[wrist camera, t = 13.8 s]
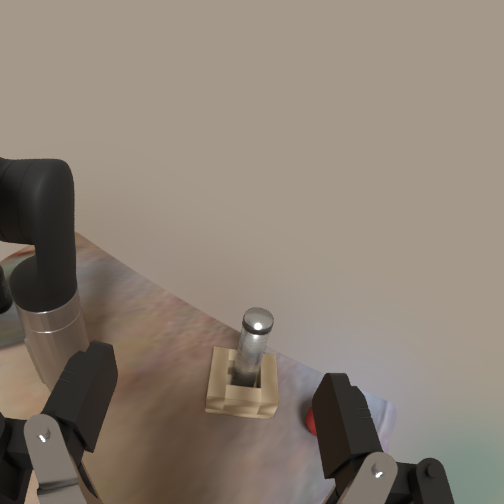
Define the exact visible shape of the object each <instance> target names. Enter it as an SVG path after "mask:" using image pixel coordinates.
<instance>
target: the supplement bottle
mask: <svg viewBox="0 0 504 504" xmlns="http://www.w3.org/2000/svg"><path fill="white" fill-rule="evenodd" d="M10 305H11V298H10V295H9V291H8V288H7V284H6V280H5V276H4V272H3V269H2V267H1V265H0V314H2V313H4V312H6V311H7V310H8V309H9V307H10Z"/></svg>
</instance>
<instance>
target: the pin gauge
mask: <svg viewBox="0 0 504 504" xmlns="http://www.w3.org/2000/svg"><path fill="white" fill-rule="evenodd" d="M273 319H274V318H273V315H272V314H271V313H270V312H269V311H267V310H265V309H263V308H250V309H248V310H247V311H246V312H245V314H244V318H243V322H242V325H243V326H242V331H241V335H240V340H239V345H238V349H237V354H236V359H235V363H234V368H233V373H232V377H231V382H230V385H234V386H242V387H251V388H253V387H254V383H255V380H256V377H257V374H258V370H259V367H260V364H261V361H262V357H263V354H264V351H265V347H266V343H267V340H268V337H269V333H270V331H271V329H272V326H273Z"/></svg>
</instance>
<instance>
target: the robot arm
mask: <svg viewBox="0 0 504 504" xmlns="http://www.w3.org/2000/svg"><path fill="white" fill-rule="evenodd" d="M0 241H3V242H8V243H18V244H28V245H34V246H35V252H36V255H34V256H32V257H29V258H27V259H26V260H24V261H22V262H21V263H20V264H19V265H18V266H17V267H16V268H15V269H14V270H13V272H12V274H11V277H10V288H11V292H12V295H13V299H14V302H15V305H16V308H17V311H18V314H19V317H20V320H21V323H22V326H23V329H24V332H25V334H26V337H25V339H24V341H25V344H26V347H27V349H28V352H29V354H30V356H31V359H32V361H33V363H34V366H35V368H36V370H37V372H38V374H39V376H40V378H41V380H42V382H43V383H45V384H47V386H48V387H49V389H50V391H51V392H52V393H51V395H50V397H49V399H48V401H47V403H46V405H45V407H44V409H43V411H42V412H41V413H40V414H37V415H34V416H32V417H30V418H29V419H28V420H19V419H11V418H4V416H3V415H2V414H1V412H0V504H24V502H25V497H26V493H27V489H28V485H29V481H30V477H31V473H32V470H34V471H35V475H36V478H37V480H38V484H39V488H38V489H37V496H38V499H39V502H40V504H104V503H103V502H102V500H101V498H100V497H99V495H98V493H97V491H96V489H95V487H94V485H93V483H92V481H91V478H90V476H89V474H88V472H87V470H86V468H85V465H84V463H83V461H82V456H83V453H84V450H85V451H88V452H91V453H93V452H94V449H95V446H96V443H97V439H98V436H99V433H100V430H101V427H102V424H103V421H104V418H105V415H106V412H107V409H108V406H109V403H110V401H111V398H112V395H113V392H114V389H115V387H116V383H117V378H118V370H117V365H116V360H115V355H114V350H113V346H112V345H111V344H106V343H102V342H98V341H94V340H93V341H92V342H91V343H90V345H89V341H88V337H87V332H86V328H85V324H84V319H83V314H82V309H81V304H80V299H79V293H78V287H77V280H76V249H75V233H74V182H73V176H72V173H71V169H70V168H69V166H68V164H67V163H66V162H64V161H63V160H59V159H23V160H22V159H21V160H9V159H4V158H1V157H0ZM312 412H313V417H314V423H315V428H316V433H317V439H318V444H319V450H320V455H321V461H322V466H323V472H324V478H325V479H330V478H335V485H334V486H333V488H332V489H331V491H330V492H329V494H328V496H327V497H326V499H325V500H324V502H323V503H322V504H454V500H453V497H452V493H451V490H450V486H449V483H448V480H447V476H446V473H445V470H444V467H443V465H442V464H441V463H440V462H439V461H438V460H436V459H434V458H426V459H423V460H422V461H421V462H419V463H418V464H409V463H400V462H396V461H395V460H394V459H393V458H392V457H391V456H390V455H388V454H386V453H384V452H383V450H382V447H381V444H380V441H379V438H378V435H377V432H376V429H375V426H374V423H373V420H372V418H371V414H370V411H369V409H368V405H367V402H366V399H365V396H364V395H363V393H362V392H361V391H360V390H359V389H358V388H357V386H351V385H350V382H349V379H348V376H347V374H345V373H326V374H325V375H324V377H323V379H322V381H321V383H320V385H319V387H318V389H317V390H316V392H315V394H314V396H313V400H312Z"/></svg>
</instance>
